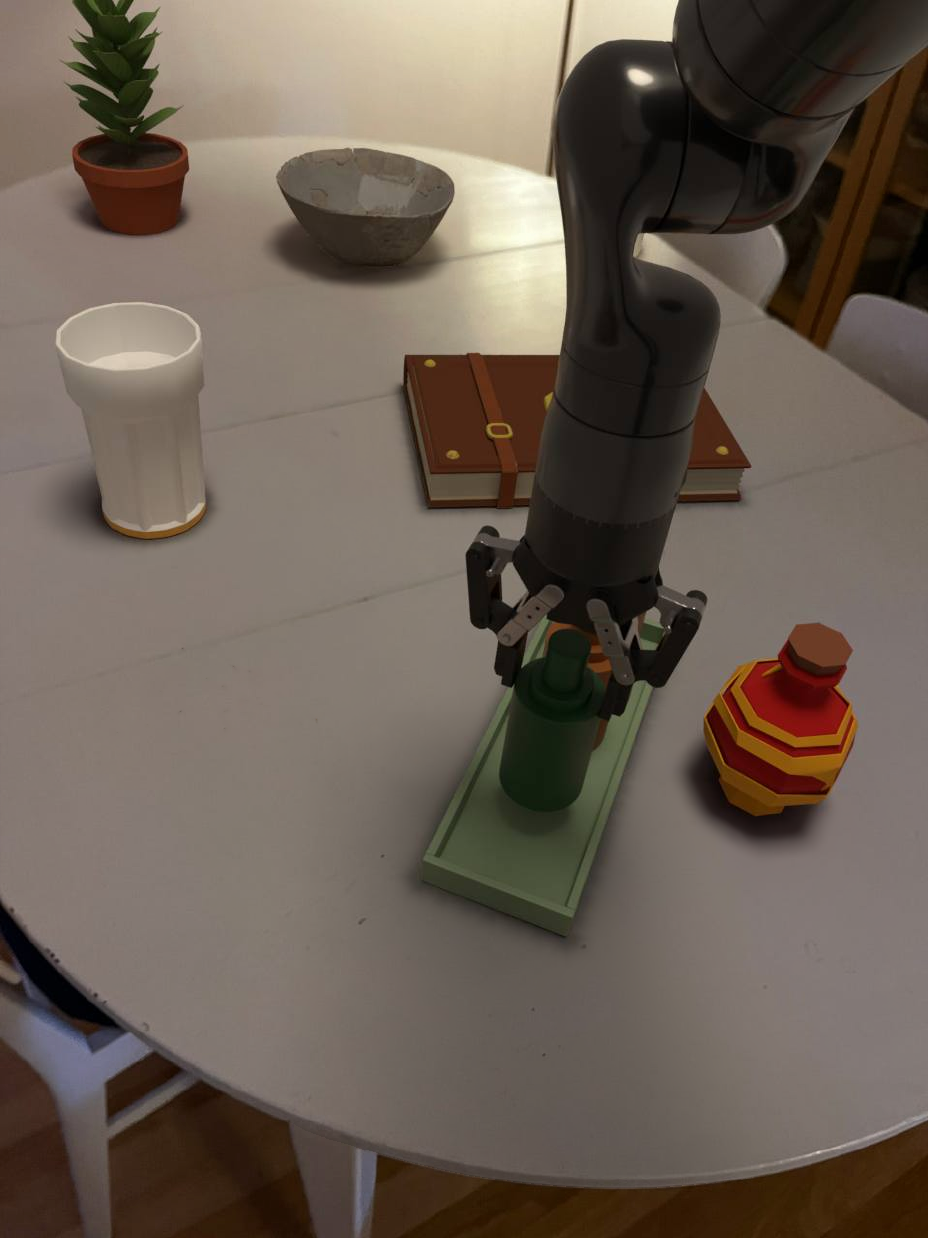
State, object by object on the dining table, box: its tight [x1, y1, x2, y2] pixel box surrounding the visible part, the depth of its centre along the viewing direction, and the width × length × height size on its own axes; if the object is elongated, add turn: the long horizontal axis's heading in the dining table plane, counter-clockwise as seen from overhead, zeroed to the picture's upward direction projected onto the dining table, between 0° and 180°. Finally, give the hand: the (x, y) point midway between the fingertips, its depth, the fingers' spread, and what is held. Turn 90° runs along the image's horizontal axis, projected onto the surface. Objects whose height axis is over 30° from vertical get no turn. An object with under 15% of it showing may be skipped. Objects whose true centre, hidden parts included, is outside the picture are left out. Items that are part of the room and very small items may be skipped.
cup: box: [54, 301, 207, 540], centre depth 87 cm, size 11×11×17 cm
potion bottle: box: [702, 622, 859, 817], centre depth 70 cm, size 10×10×15 cm
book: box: [402, 352, 753, 509], centre depth 106 cm, size 23×32×5 cm
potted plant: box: [57, 0, 190, 236], centre depth 128 cm, size 15×15×30 cm
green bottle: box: [499, 629, 606, 812], centre depth 65 cm, size 6×6×13 cm
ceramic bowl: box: [275, 147, 456, 268], centre depth 132 cm, size 22×23×10 cm
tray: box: [420, 615, 665, 937], centre depth 76 cm, size 29×10×2 cm, turn 159°
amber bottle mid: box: [542, 622, 612, 751], centre depth 73 cm, size 6×6×13 cm
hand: (559, 693), depth 64 cm, fingers closed on green bottle, 5 cm apart
